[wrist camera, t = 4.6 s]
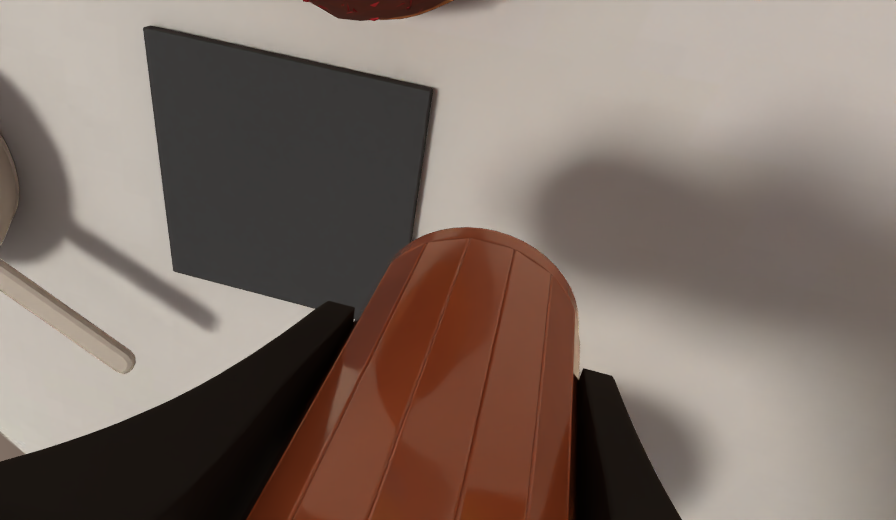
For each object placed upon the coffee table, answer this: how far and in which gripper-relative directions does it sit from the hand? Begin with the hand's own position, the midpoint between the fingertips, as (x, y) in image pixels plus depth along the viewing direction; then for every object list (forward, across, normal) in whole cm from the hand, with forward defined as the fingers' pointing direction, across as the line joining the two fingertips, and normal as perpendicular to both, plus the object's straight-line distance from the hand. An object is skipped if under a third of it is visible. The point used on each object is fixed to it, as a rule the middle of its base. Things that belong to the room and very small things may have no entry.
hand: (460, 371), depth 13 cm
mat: (+9, +8, +2) cm, 12 cm away
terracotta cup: (+2, 0, 0) cm, 2 cm away
